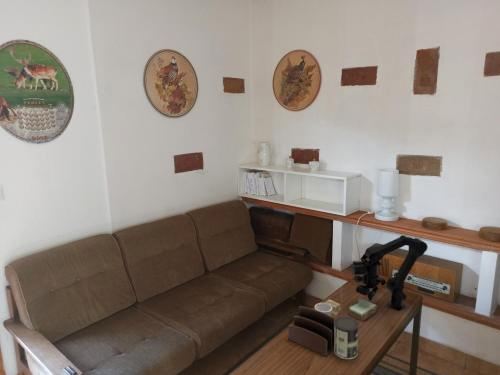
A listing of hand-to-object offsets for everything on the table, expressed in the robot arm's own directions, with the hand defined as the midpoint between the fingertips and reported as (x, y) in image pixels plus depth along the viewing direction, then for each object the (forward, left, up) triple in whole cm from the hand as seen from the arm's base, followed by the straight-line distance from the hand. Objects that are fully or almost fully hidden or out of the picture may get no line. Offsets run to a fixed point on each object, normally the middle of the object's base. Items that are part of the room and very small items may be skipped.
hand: (370, 300), depth 187 cm
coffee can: (+38, +12, -5) cm, 40 cm away
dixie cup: (+30, -7, -5) cm, 31 cm away
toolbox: (+7, 0, -5) cm, 8 cm away
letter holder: (+43, -2, -6) cm, 44 cm away
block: (+16, -12, -5) cm, 21 cm away
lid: (+7, 0, -2) cm, 7 cm away
